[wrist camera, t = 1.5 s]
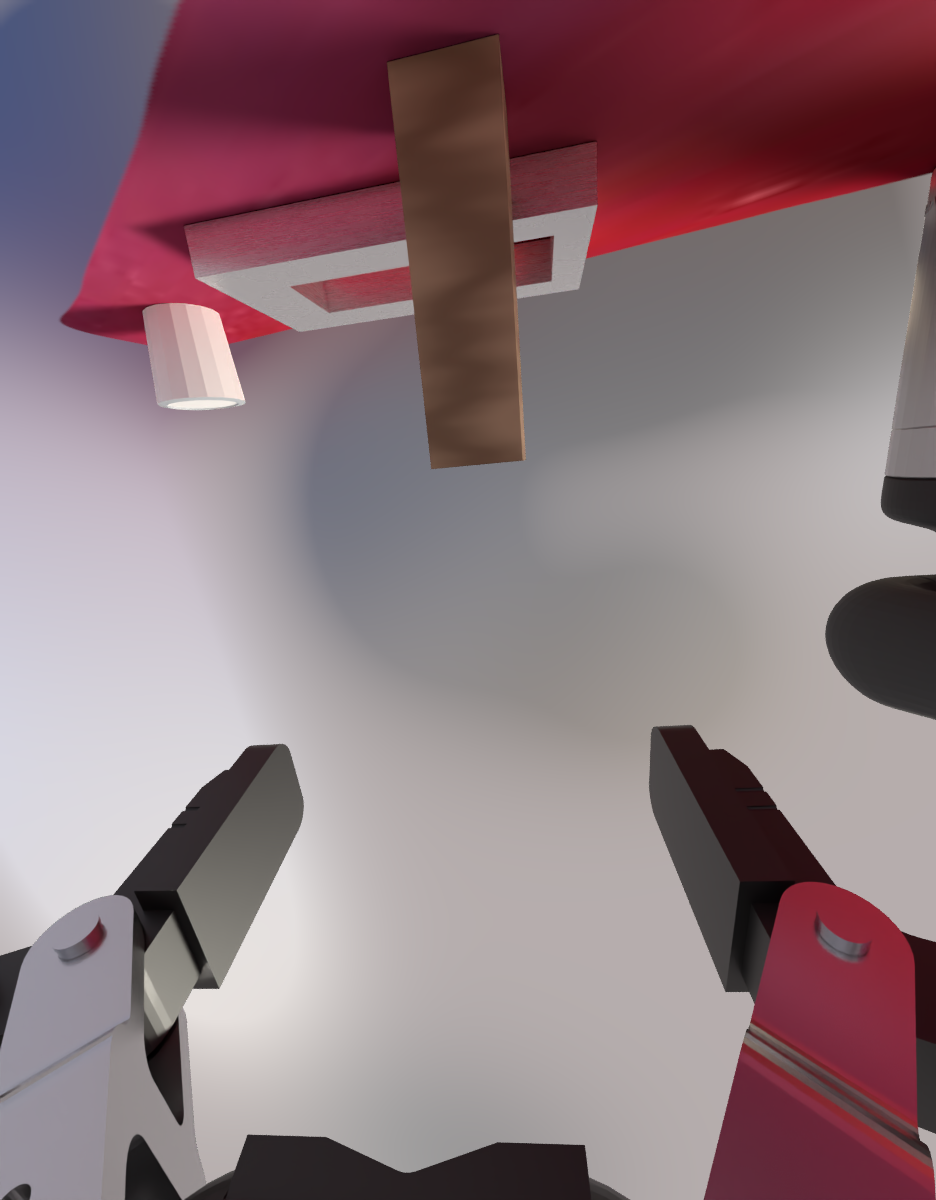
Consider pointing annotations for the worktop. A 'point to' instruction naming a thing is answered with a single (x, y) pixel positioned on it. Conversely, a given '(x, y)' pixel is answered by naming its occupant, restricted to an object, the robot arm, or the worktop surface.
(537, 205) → the keyhole plate
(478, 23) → the worktop surface
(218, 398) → the white tapered cup
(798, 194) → the worktop surface
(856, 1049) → the robot arm
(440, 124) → the walnut post
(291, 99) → the worktop surface
